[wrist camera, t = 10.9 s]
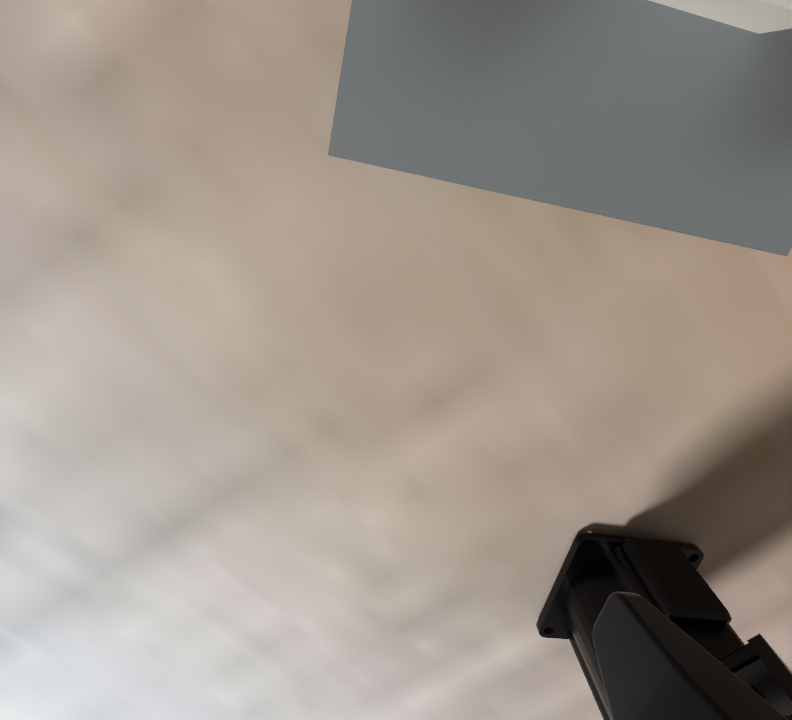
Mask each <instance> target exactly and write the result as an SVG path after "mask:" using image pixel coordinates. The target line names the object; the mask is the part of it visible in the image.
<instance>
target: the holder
mask: <svg viewBox="0 0 792 720" xmlns="http://www.w3.org/2000/svg"><path fill="white" fill-rule="evenodd" d="M328 155H330V156H335V157H339V158H344V159H349V160H353V161H358V162H362V163H367V164H371V165H376V166H380V167H385V168H389V169H394V170H398V171H403V172H407V173H412V174H417V175H421V176H426V177H430V178H435V179H439V180H444V181H448V182H453V183H457V184H462V185H466V186H471V187H475V188H480V189H485V190H489V191H494V192H498V193H503V194H507V195H512V196H516V197H521V198H525V199H530V200H534V201H539V202H543V203H548V204H553V205H557V206H562V207H566V208H571V209H575V210H580V211H584V212H589V213H593V214H598V215H602V216H607V217H611V218H616V219H621V220H625V221H630V222H634V223H639V224H643V225H648V226H652V227H657V228H661V229H666V230H670V231H675V232H679V233H684V234H689V235H693V236H698V237H702V238H707V239H711V240H716V241H720V242H725V243H729V244H734V245H738V246H743V247H747V248H752V249H757V250H761V251H766V252H770V253H775V254H779V255H784V256H787V255H788V253H789V251H790V249H791V247H792V0H352V5H351V12H350V18H349V25H348V31H347V38H346V44H345V50H344V57H343V63H342V70H341V76H340V83H339V89H338V96H337V102H336V108H335V115H334V121H333V128H332V134H331V141H330V147H329V154H328Z"/></svg>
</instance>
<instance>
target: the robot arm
mask: <svg viewBox="0 0 792 720" xmlns="http://www.w3.org/2000/svg"><path fill="white" fill-rule="evenodd" d="M586 544H587V545H586ZM703 557H704V555H703V552H702V551H701V550H700V549H699V547H698V546H697V545H694V544H687V543H678V542H668V541H659V540H650V539H640V538H631V537H621V536H612V535H603V534H593V533H583V534H581V535H579V536H578V537H577V538H576V539H575V540H574V543H573V545H572V547H571V549H570V551H569V554H568V556H567V558H566V560H565V562H564V565H563V567H562V569H561V571H560V573H559V576H558V578H557V580H556V582H555V584H554V587H553V589H552V591H551V593H550V595H549V598H548V600H547V602H546V604H545V606H544V609H543V611H542V613H541V615H540V617H539V620H538V622H537V625H536V626H537V629H538V631H539V634H540V635H541V636H542V637H546V638H560V639H569V640H570V642H571V645H572V647H573V649H574V652H575V654H576V656H577V658H578V661H579V663H580V665H581V668H582V670H583V672H584V675H585V677H586V679H587V682H588V684H589V686H590V689H591V691H592V693H593V696H594V698H595V700H596V703H597V705H598V707H599V710H600V712H601V714H602V717H603V719H604V720H792V671H791V670H790V669H789V668H788V667H787V665H786V664H785V663H784V662H783V661H782V659H781V658H780V657H779V656H778V655H777V653H776V652H775V651H774V650H773V649H772V647H771V646H770V645H769V644H768V643H767V642H766V640H765V639H764V638H763V637H762V636H761V634H758V635H756V636H754V637H753V638H751V639H749V640H747V641H748V642H749V643H748V644H746V645H744V643H743V642H742V641H741V639H740V638H739V637H738V635H737V634H736V633H735V631H734V630H733V629H732V627H731V626H730V625H729V623H730V621H731V619H732V618H731V616H730V614H729V612H728V610H727V609H726V608H725V607H724V605H723V604H722V603H721V601H720V600H719V599H718V597H717V596H716V595H715V593H714V592H713V591H712V590H711V588H710V587H709V586H708V584H707V583H706V582H705V580H704V579H703V578H702V577H701V575H700V574H699V573H698V571H697V568H698V566H699V564H700V563H701V561H702V559H703Z"/></svg>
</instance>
